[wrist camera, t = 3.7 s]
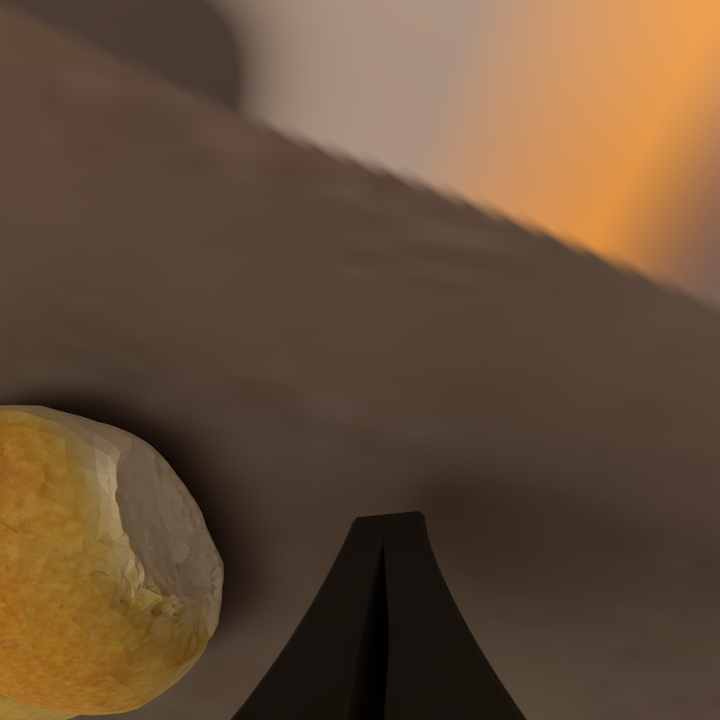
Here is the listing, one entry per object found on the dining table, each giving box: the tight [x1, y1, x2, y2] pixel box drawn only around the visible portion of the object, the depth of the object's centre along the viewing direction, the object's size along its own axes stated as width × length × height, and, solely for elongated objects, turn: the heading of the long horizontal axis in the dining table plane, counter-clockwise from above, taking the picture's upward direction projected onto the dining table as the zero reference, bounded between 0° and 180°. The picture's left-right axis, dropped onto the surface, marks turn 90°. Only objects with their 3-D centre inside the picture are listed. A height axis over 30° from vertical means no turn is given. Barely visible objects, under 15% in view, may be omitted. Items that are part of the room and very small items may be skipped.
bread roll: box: [0, 405, 224, 720], centre depth 11 cm, size 8×9×4 cm
